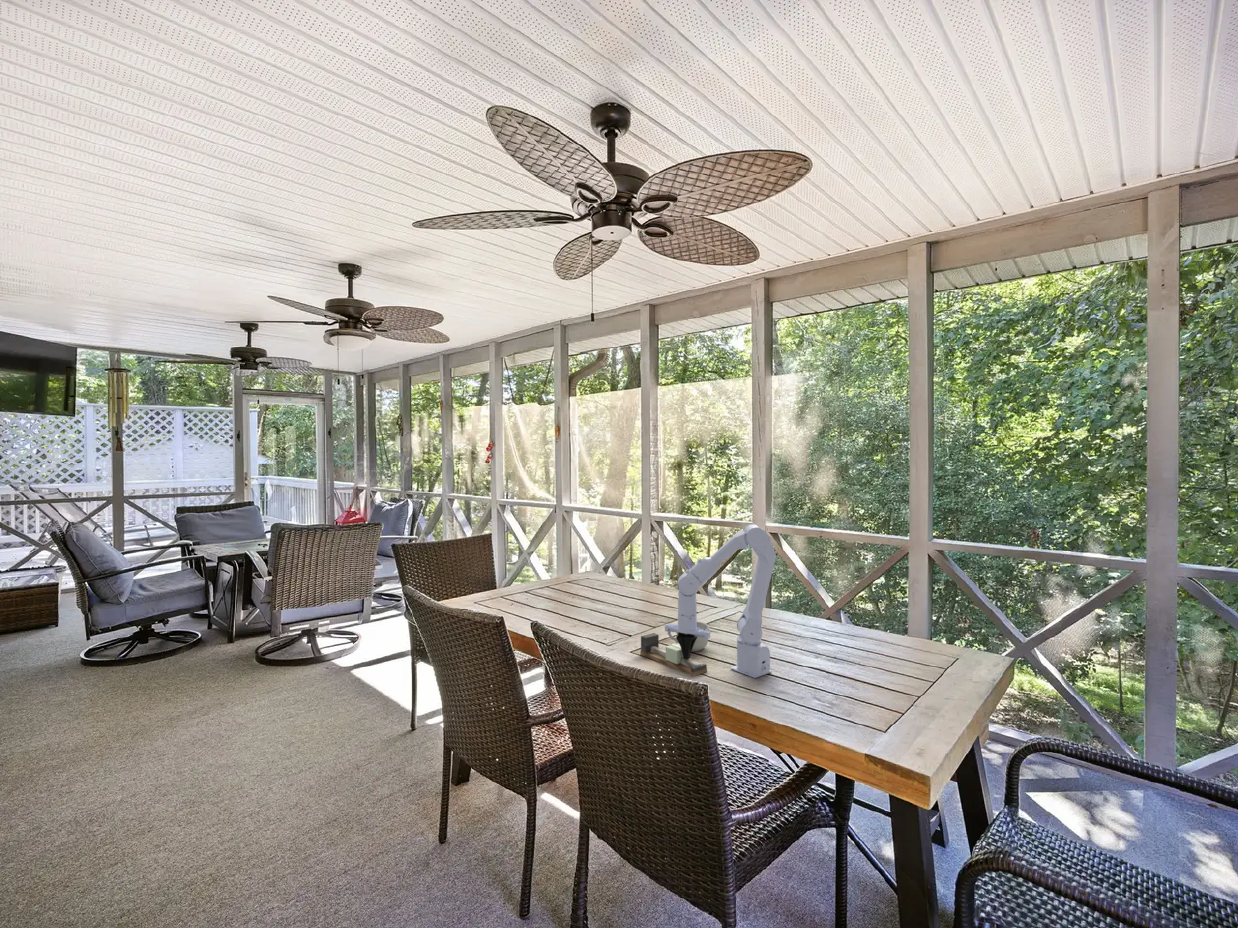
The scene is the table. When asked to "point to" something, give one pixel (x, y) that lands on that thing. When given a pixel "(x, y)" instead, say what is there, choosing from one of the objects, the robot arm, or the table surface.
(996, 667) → the table surface
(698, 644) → the teacup
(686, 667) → the rail
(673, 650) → the carriage
